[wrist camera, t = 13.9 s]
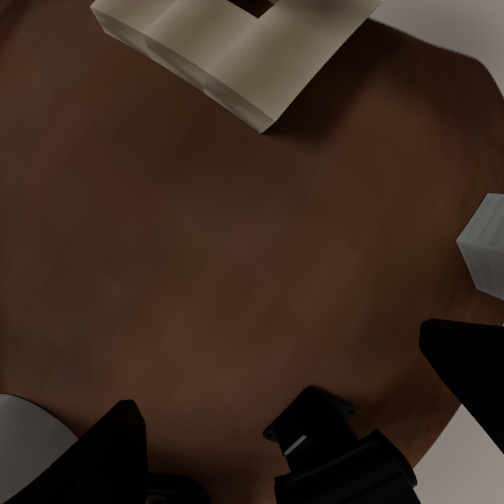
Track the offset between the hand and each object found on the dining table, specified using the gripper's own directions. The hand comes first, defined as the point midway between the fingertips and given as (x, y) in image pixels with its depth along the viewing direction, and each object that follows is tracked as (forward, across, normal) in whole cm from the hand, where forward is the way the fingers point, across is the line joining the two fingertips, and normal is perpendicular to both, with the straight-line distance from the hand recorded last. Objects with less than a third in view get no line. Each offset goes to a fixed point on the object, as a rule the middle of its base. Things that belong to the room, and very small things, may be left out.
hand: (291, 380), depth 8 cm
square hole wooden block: (+13, -4, -18) cm, 23 cm away
